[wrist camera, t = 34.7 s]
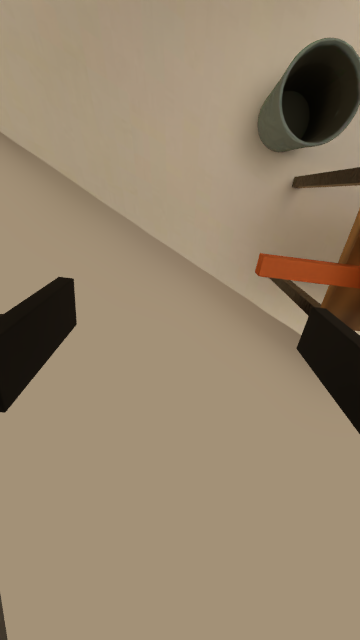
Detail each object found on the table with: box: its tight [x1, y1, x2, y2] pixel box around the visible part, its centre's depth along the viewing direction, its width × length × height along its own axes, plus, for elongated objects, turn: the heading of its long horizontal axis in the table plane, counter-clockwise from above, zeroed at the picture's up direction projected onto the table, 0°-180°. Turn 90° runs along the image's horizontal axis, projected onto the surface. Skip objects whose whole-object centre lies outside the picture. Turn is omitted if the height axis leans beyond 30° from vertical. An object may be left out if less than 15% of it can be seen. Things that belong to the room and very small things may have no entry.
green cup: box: [258, 38, 360, 152], centre depth 36 cm, size 10×10×12 cm
